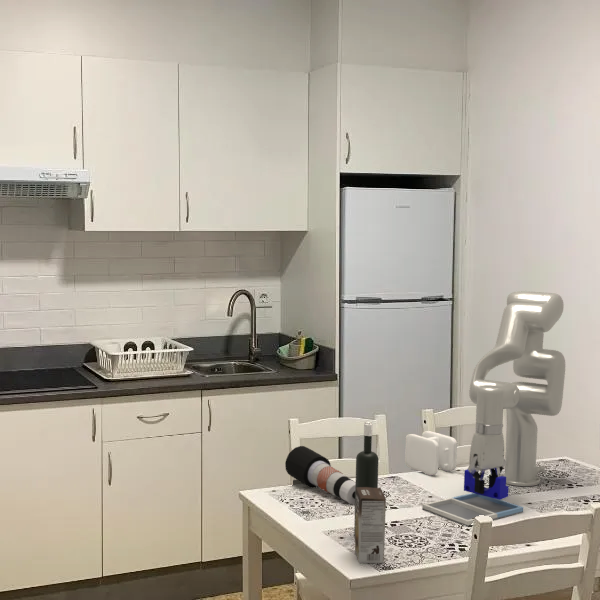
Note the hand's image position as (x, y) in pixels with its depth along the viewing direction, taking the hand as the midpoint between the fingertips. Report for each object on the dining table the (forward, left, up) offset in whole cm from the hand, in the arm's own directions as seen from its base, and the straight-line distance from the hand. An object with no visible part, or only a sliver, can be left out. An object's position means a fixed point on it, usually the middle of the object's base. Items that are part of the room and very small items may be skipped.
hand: (486, 490), depth 274 cm
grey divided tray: (+5, 0, -5) cm, 7 cm away
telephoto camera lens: (+29, -35, -5) cm, 46 cm away
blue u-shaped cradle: (0, 0, -1) cm, 1 cm away
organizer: (-15, -38, -5) cm, 41 cm away
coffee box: (+53, +11, -5) cm, 55 cm away
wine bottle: (+44, -1, -5) cm, 45 cm away
